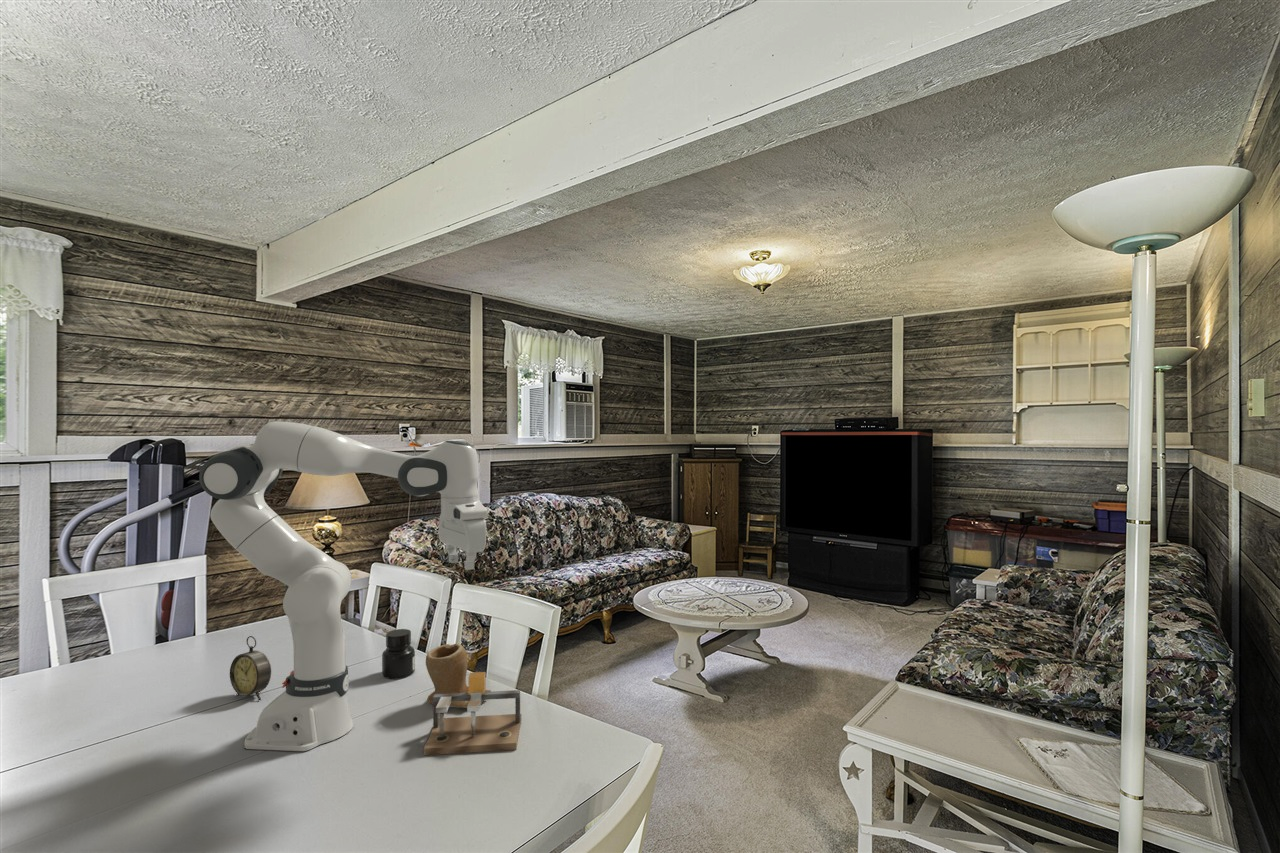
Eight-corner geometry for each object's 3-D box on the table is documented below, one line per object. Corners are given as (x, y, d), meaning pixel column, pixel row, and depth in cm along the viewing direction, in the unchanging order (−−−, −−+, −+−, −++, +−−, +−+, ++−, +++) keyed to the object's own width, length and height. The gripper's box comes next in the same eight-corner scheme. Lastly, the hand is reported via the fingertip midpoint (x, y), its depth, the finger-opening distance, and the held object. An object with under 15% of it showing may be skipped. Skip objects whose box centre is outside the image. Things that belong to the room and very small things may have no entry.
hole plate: (423, 755, 135) (423, 715, 135) (437, 724, 149) (437, 688, 149) (516, 749, 138) (516, 710, 138) (521, 719, 151) (521, 684, 151)
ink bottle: (422, 672, 181) (421, 631, 181) (396, 682, 174) (395, 640, 174) (401, 665, 186) (400, 625, 186) (374, 675, 179) (374, 634, 179)
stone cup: (415, 708, 158) (415, 650, 158) (446, 690, 169) (446, 635, 169) (464, 719, 152) (463, 658, 152) (492, 699, 163) (492, 642, 163)
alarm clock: (228, 697, 165) (227, 636, 165) (247, 689, 170) (247, 630, 170) (256, 704, 161) (256, 641, 161) (275, 695, 166) (275, 635, 166)
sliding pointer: (465, 736, 140) (464, 686, 140) (470, 719, 148) (470, 672, 148) (480, 735, 140) (480, 686, 140) (485, 718, 148) (485, 671, 148)
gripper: (431, 505, 154) (432, 560, 154) (464, 513, 138) (465, 575, 138) (456, 503, 158) (456, 556, 158) (490, 511, 142) (491, 571, 142)
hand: (461, 565), depth 148 cm, fingers open, 8 cm apart
